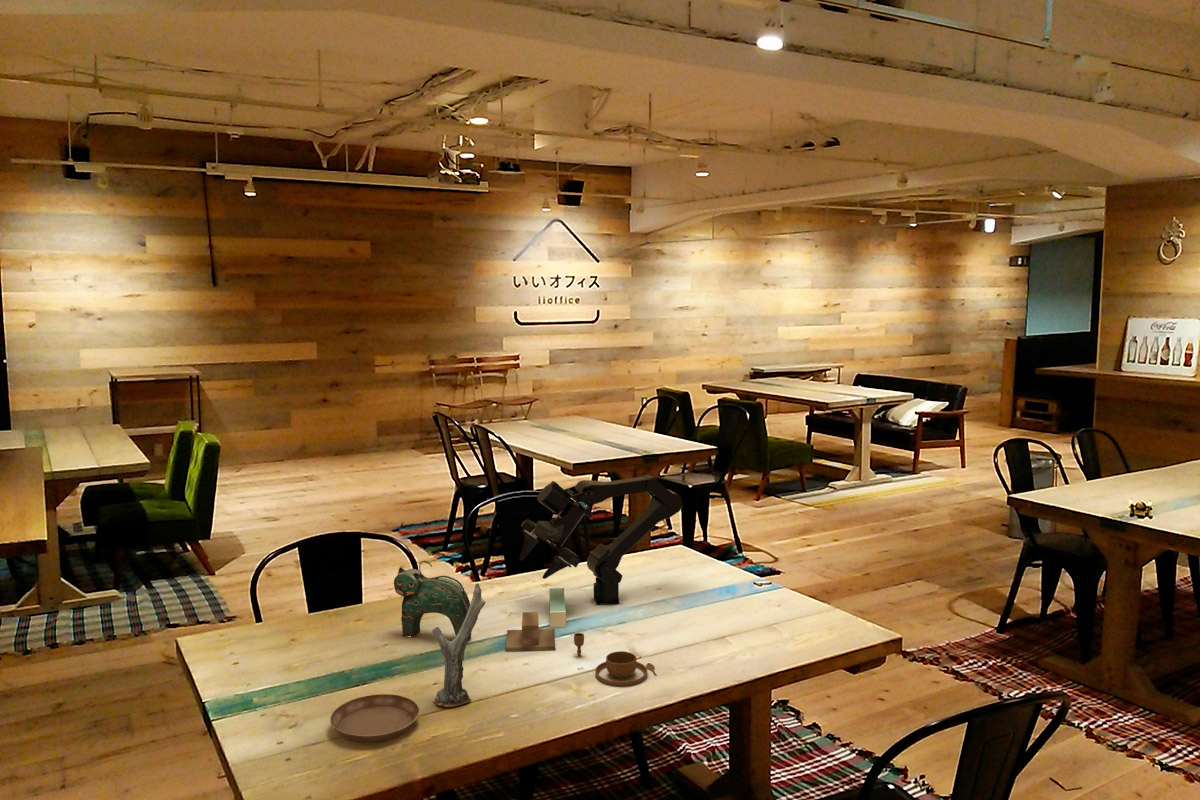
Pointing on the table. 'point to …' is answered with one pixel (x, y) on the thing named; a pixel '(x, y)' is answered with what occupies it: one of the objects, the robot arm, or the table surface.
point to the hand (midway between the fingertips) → (531, 569)
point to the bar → (557, 607)
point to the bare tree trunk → (457, 655)
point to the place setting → (617, 665)
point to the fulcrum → (530, 636)
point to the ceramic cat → (430, 599)
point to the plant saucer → (375, 718)
